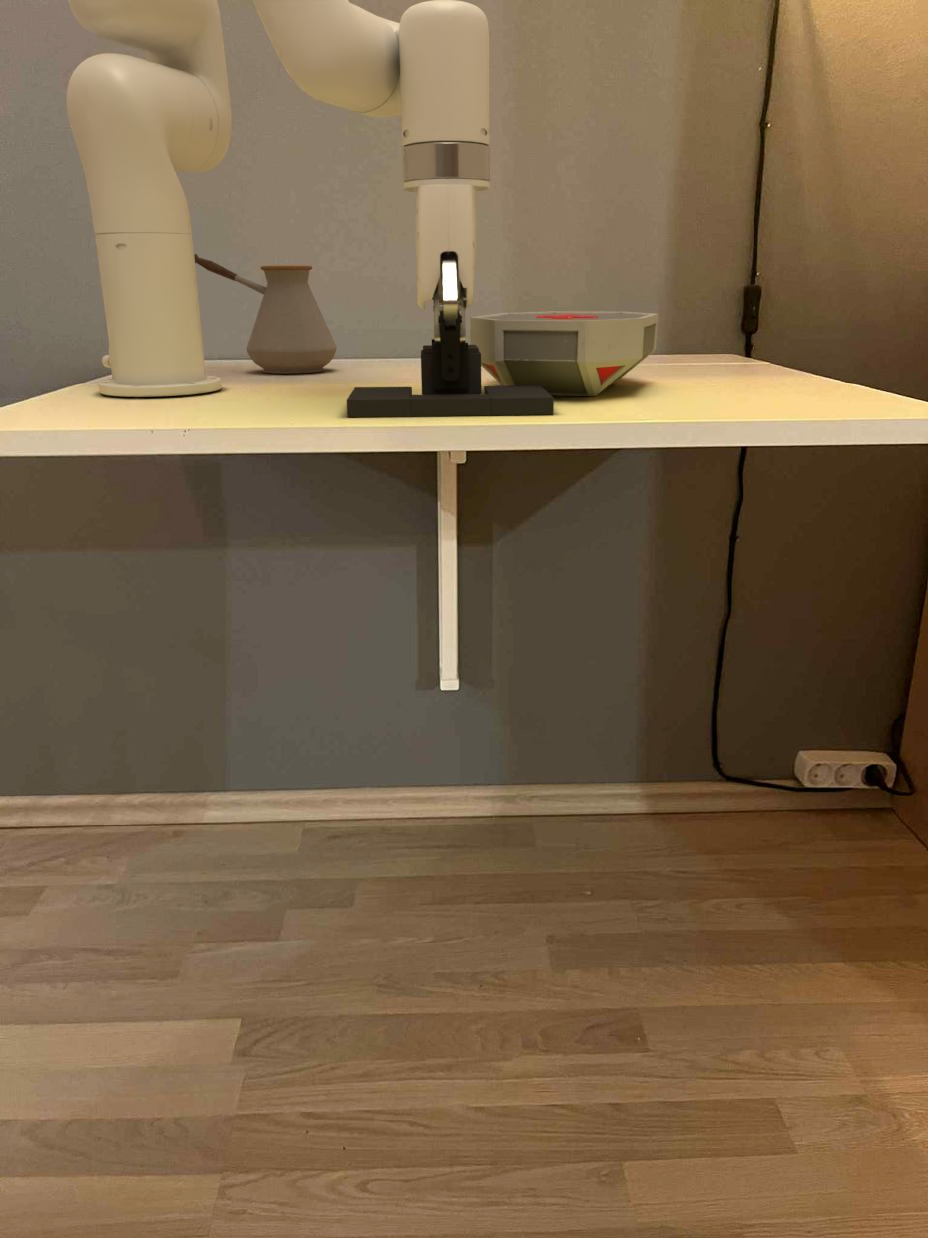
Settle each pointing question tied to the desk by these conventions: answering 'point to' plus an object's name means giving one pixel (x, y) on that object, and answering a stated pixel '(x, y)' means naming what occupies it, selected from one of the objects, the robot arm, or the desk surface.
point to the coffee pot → (285, 321)
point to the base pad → (449, 402)
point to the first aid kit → (563, 348)
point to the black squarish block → (473, 367)
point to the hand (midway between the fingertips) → (449, 383)
